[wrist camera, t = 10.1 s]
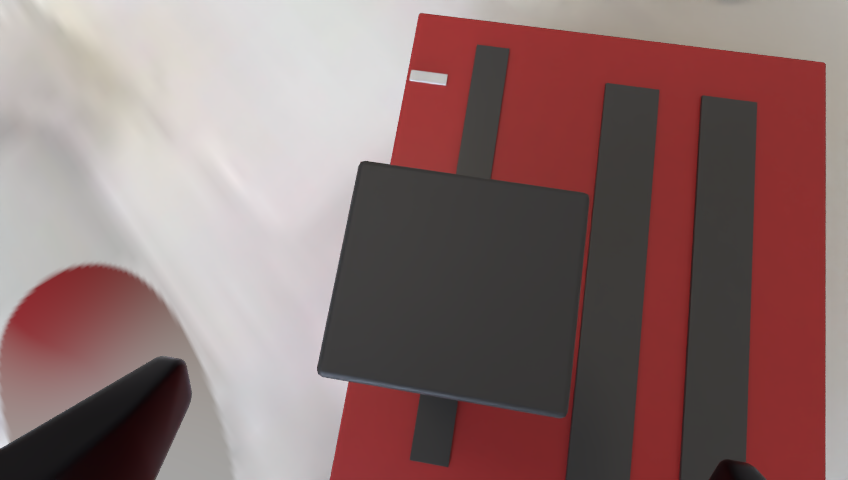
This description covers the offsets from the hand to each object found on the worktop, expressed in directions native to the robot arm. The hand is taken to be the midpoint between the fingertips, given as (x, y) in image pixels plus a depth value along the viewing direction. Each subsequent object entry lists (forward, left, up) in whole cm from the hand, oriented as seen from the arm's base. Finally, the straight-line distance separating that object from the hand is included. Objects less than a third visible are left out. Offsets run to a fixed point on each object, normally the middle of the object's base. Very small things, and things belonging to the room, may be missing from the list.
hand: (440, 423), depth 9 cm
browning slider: (+2, 0, -3) cm, 4 cm away
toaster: (+3, -3, -12) cm, 12 cm away
